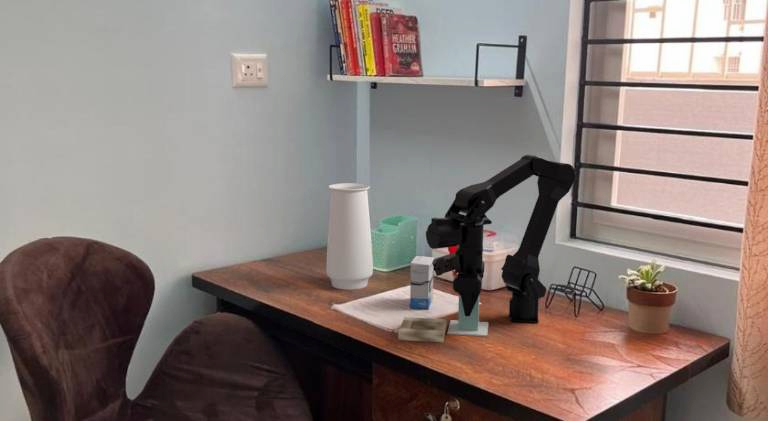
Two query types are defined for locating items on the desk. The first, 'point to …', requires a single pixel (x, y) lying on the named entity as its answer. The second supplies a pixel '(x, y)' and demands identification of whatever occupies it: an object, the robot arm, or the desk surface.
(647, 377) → the desk surface
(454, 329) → the grey coaster
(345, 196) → the vase
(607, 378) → the desk surface
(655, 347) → the desk surface
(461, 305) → the teal block
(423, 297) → the ink box
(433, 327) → the birch holder
